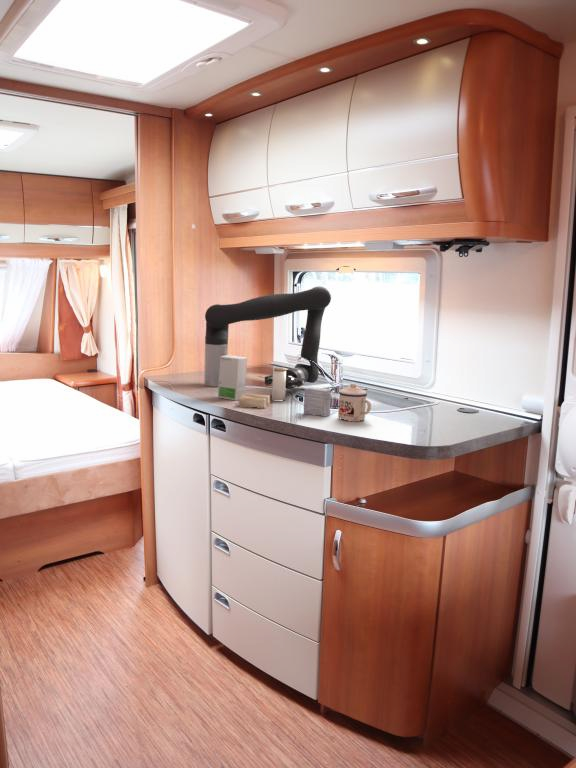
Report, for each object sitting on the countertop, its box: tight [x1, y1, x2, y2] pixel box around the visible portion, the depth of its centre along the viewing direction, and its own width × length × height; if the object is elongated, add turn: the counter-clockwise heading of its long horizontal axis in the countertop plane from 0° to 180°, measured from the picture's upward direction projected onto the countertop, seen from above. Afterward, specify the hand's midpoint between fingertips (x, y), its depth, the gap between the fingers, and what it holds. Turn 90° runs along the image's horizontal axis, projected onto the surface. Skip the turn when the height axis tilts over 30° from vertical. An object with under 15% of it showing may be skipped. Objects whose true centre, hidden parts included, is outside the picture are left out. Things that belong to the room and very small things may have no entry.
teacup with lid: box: [337, 382, 372, 422], centre depth 198 cm, size 12×9×12 cm
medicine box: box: [303, 386, 332, 417], centre depth 204 cm, size 8×4×9 cm, turn 59°
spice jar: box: [271, 366, 287, 401], centre depth 226 cm, size 5×5×12 cm
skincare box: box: [217, 354, 248, 401], centre depth 226 cm, size 8×7×16 cm
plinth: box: [238, 393, 271, 409], centre depth 215 cm, size 9×9×3 cm
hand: (277, 383), depth 225 cm, fingers open, 8 cm apart
